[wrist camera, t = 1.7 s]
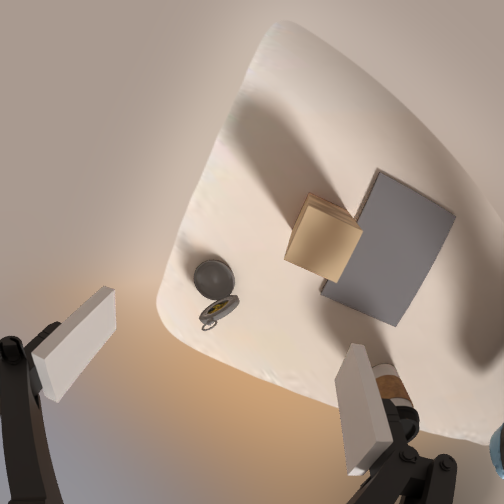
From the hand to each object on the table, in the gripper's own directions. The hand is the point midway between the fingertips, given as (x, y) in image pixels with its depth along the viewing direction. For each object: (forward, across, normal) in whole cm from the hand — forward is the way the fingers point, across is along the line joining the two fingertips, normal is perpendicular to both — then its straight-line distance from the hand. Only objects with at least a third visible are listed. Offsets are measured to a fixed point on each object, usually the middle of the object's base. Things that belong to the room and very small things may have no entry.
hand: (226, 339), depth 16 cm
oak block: (+30, -8, -1) cm, 31 cm away
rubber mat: (+29, -20, +1) cm, 35 cm away
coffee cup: (+28, -27, +23) cm, 45 cm away
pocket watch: (+31, +5, +13) cm, 34 cm away
